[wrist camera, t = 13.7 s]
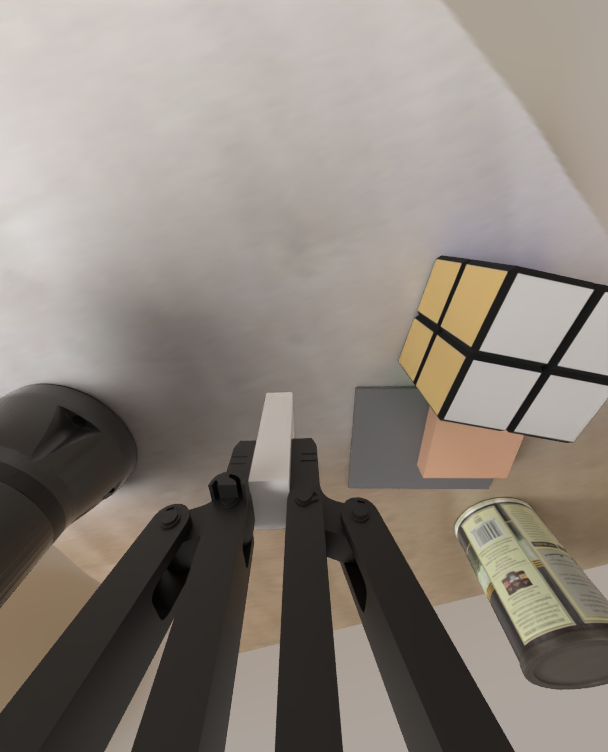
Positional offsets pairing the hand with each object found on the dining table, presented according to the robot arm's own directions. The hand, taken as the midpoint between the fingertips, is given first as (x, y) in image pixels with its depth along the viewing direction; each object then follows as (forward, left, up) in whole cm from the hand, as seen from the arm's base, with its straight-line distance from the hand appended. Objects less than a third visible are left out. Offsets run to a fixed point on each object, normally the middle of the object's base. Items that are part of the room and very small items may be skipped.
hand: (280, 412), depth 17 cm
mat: (+15, -12, -12) cm, 22 cm away
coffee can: (+26, -26, -12) cm, 38 cm away
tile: (+14, -11, -10) cm, 20 cm away
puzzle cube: (+16, +2, -12) cm, 20 cm away
